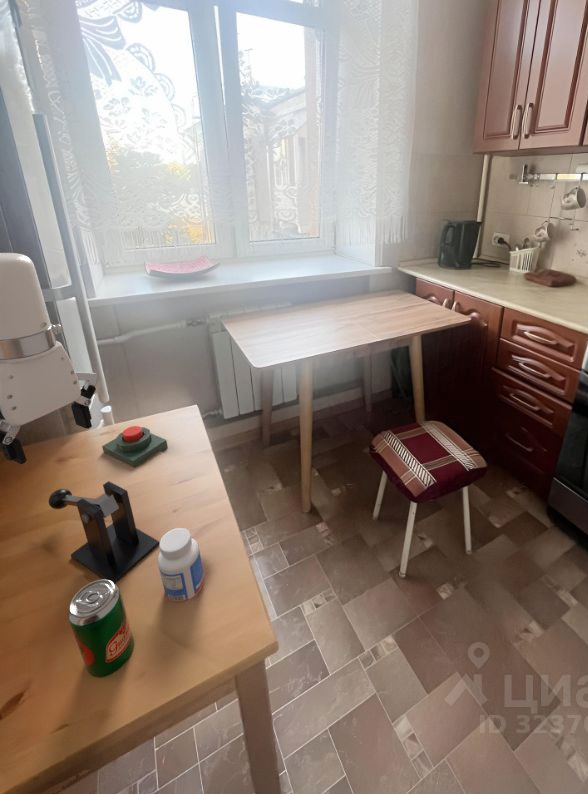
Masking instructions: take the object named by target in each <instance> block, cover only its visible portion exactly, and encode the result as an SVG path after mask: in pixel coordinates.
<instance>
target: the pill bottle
mask: <svg viewBox="0 0 588 794" xmlns="http://www.w3.org/2000/svg"><path fill="white" fill-rule="evenodd" d="M200 551H201V550H200V546H199V544H198V542H197V540H196V539H194V538H193V537H192V535H191V531H189V529H188V528H185V527H176V528H172V529H170V530H169V531H167V532H166V533H164V534H163V535H162V537H161V538H160V540H159V553H158V556H157V566H158V570H159V574H160V578H161V582H162V587H163V590H164V594H165V596H166V598H167V599H168V600H169V601H171V602H173V603H183V602H187V601H188V600H191V599H192V598H193V597H195V596H196V595H198V593H200V591H201V589H202V588H203V586H204V583H205V573H204V568H203V561H202V557H201V552H200Z"/></svg>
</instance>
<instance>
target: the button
mask: <svg viewBox="0 0 588 794" xmlns="http://www.w3.org/2000/svg"><path fill="white" fill-rule="evenodd" d="M122 432H123V438H124V441H125V442H133V441H137V440H139V439H140V438H142V437H143V433H142V428H141V426H139V425H134V426H128V427H126V428H125V429H124V430H123V431H122Z"/></svg>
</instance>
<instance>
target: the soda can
mask: <svg viewBox="0 0 588 794" xmlns="http://www.w3.org/2000/svg"><path fill="white" fill-rule="evenodd" d="M124 603H125V602H124V600H123V596H122V593H121V589H120V587H119V586H118V585H117V583H115V584H114V583H112V582H111V581H110V580H106V579H102V578H100V579H96V580H94V581H91V582H89V583H87V584H86V585H84V586H83V587H81V588H80V589H79V590H78V591H77V592H76V593H75V594H74V596H73V598H72V599H71V601H70V604H69V609H68V613H67V619H68V622H69V625H70V628H71V630H72V633H73V637H74V639H75V642H76V644H77V646H78V649H79V652H80V655H81V657H82V660H83V663H84V666H85V669H86V672H87V673H88V675H90V676H91V677H93V678H97V679H98V678H105V677H108V676H111V675H112V674H114V673H116V672H118V671H119V670H120V669H121V668H122V667H123V666H124V665H125V664H126V663H127V662H128V661H129V659H130V657H131V655H132V654H133V651H134V649H135V639H134V636H133V632H132V628H131V624H130V621H129V618H128V614H127V610H126V607H125V604H124Z"/></svg>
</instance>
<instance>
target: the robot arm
mask: <svg viewBox="0 0 588 794" xmlns="http://www.w3.org/2000/svg"><path fill="white" fill-rule="evenodd" d="M59 333H63V327H62V326H61V324H60V323H56V324H53V323H51V319H50V316H49V312H48V308H47V305H46V301H45V297H44V294H43V290H42V288H41V283H40V280H39V276H38V273H37V270H36V267H35V264H34V262H33V260H32V259H31V258H30V257H28V256H27V255H25V254H23V253H18V252H0V448H1V451H2V454H3V456H4V458H5V459H6V460H7V461H9V462H11V461H13V462H15V463H17V464H18V465H23V464H25V463H27V457H26V454H25V452H24V449H23V445H22V443H21V441H20V440H19V439H18V438H16V436H17V434H18V433H19V431H20V429H21V426H24V425H26V424H28V423H31V422H33V421H35V420H38V419H40V418H42V417H45V416H46V415H48V414H50V413H52V412H55V411H57V410H59V409H61V408H63V407H65V406H67V405H69V404H71V405H70V409H71V412H72V415H73V418H74V419H73V420H74V422H75V425H77V426H79V427H81V428H82V429H83V428H84V429H86V430H87V429H91V428H93V425H92V421H91V420H92V414H91V410H90V407H89V406H90V405H91V404H92V400H91V399H92V397H93V396H94V394H95V393H96V390H97V389H96V386H97V384H98V380H99V374H98V373H96V372H93V371H76V370H75V367H74V365H73V362H72V361H71V359H70V356H69V355H68V352H67V351H66V349H65V347H64V346H63V344H62V343H61V342H60V341H58V339H57V335H58V334H59ZM80 381H84V385H83V386H82V387H81V383H80Z"/></svg>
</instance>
